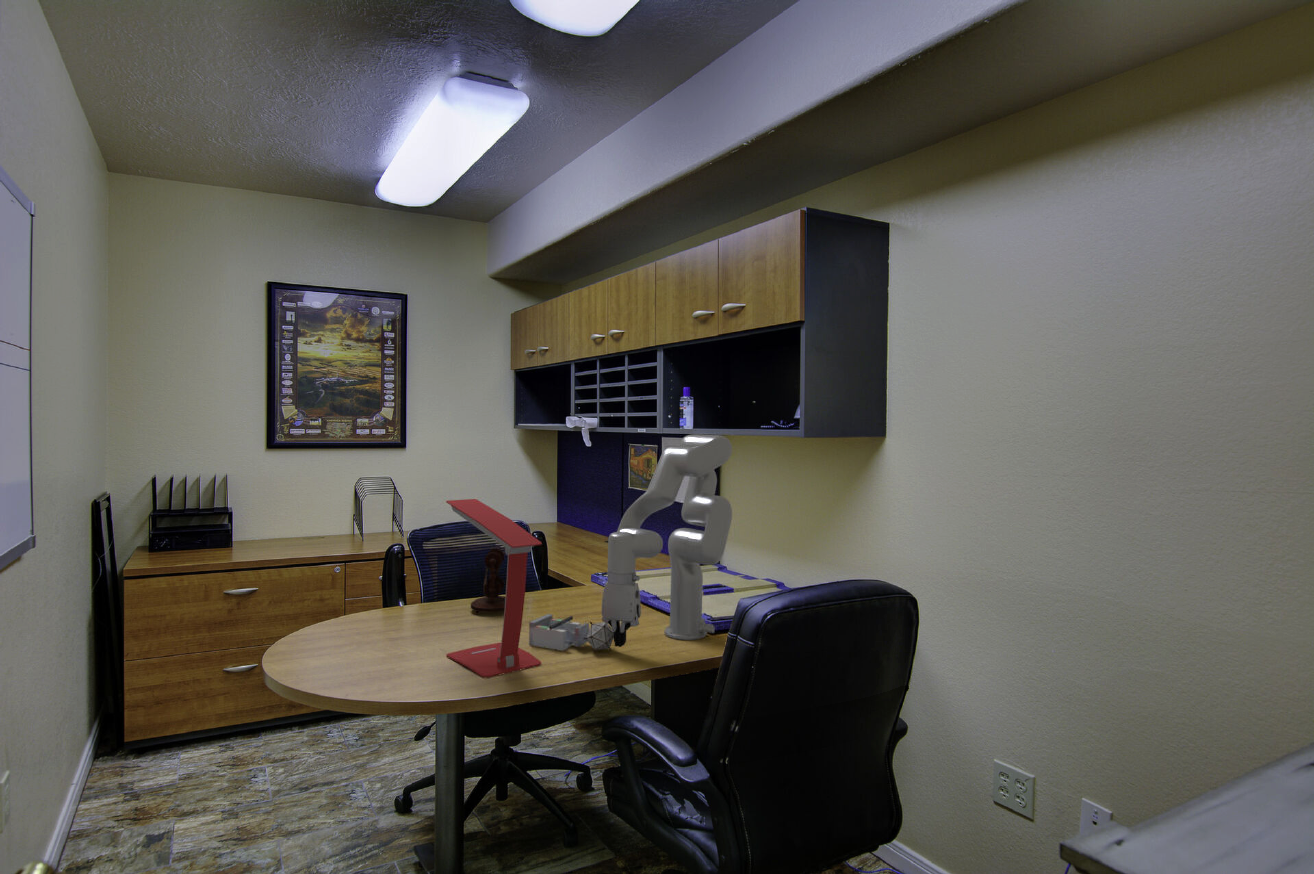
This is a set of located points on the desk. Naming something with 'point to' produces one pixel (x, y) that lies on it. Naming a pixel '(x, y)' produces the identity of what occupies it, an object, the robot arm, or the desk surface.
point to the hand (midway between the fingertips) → (619, 645)
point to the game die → (600, 636)
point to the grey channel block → (573, 632)
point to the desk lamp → (516, 547)
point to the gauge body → (550, 633)
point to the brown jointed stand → (491, 585)
